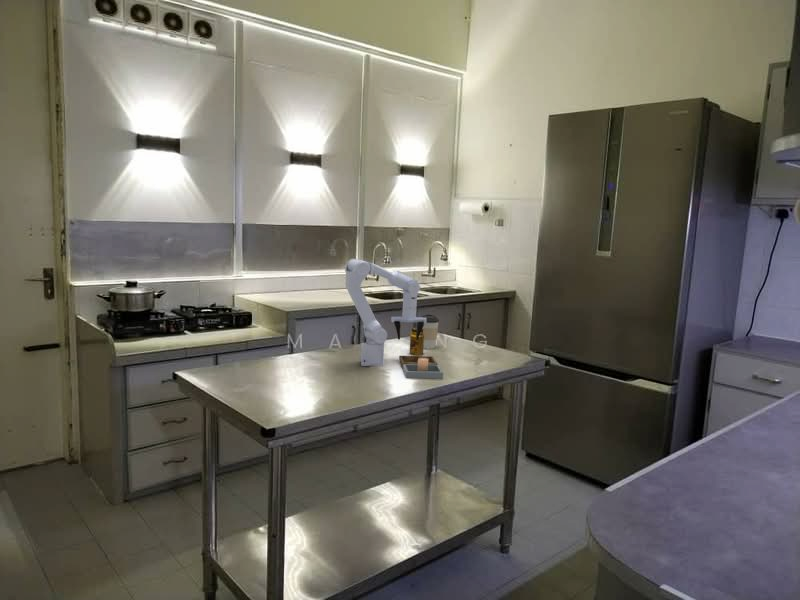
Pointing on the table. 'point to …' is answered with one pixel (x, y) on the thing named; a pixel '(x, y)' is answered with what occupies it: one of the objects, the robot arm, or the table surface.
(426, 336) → the coffee cup
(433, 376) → the bin
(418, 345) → the condiment
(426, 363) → the orange tan cylinder
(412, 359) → the bin
